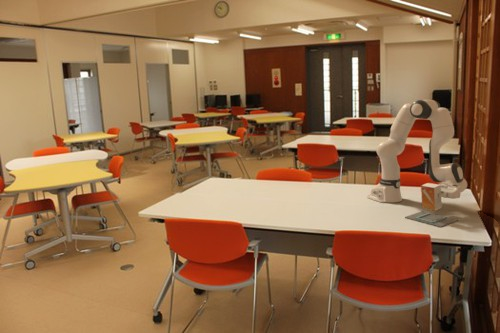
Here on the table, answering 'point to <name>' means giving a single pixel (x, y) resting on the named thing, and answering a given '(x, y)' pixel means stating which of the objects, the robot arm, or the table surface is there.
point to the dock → (431, 219)
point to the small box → (431, 196)
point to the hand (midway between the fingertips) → (430, 194)
